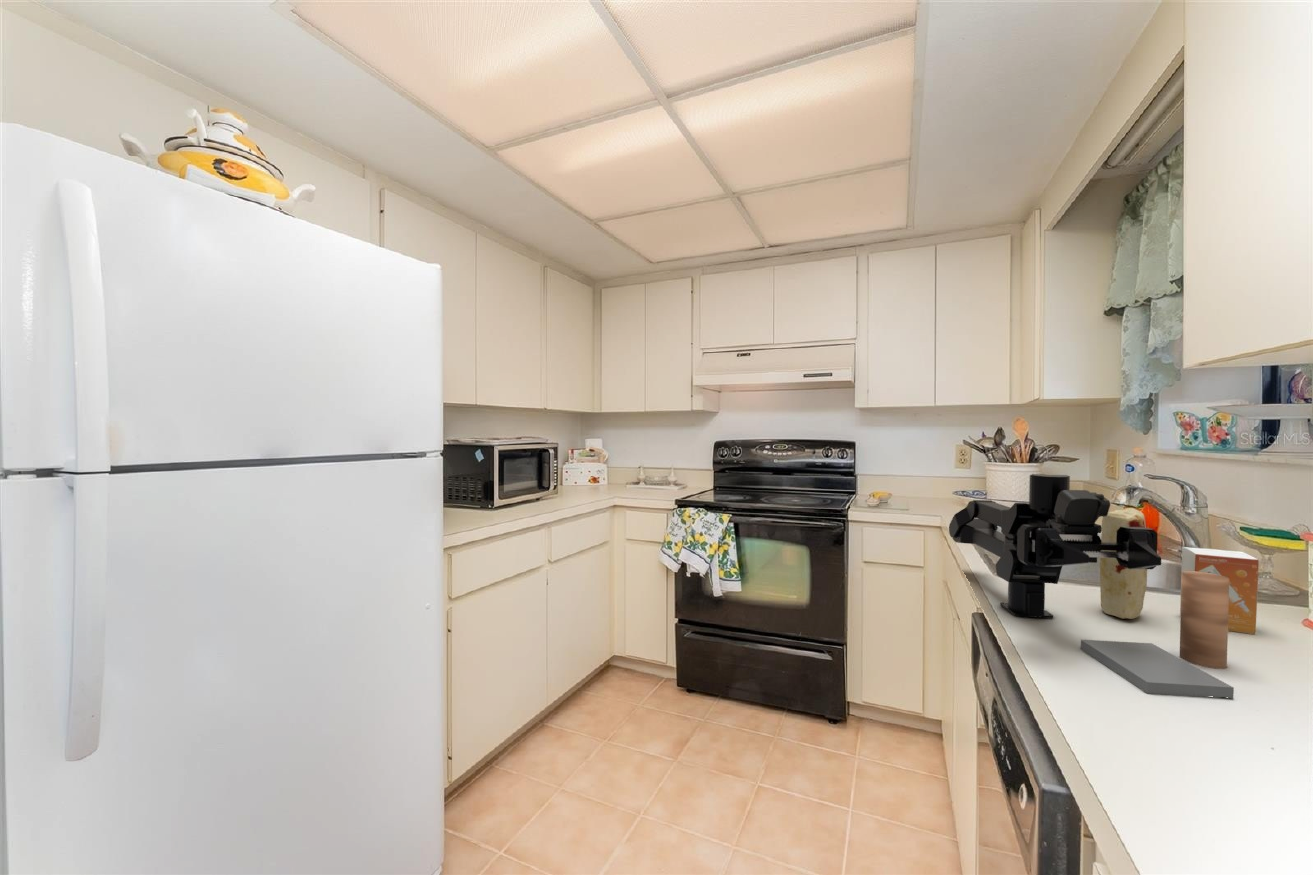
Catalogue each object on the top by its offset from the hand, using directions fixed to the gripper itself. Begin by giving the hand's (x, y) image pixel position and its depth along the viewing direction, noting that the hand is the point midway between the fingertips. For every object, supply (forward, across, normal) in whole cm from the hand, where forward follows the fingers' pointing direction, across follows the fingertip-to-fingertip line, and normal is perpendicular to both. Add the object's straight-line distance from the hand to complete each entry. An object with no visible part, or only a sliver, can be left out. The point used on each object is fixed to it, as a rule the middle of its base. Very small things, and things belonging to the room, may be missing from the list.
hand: (1123, 560), depth 76 cm
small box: (-23, +30, +17) cm, 41 cm away
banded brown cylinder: (-7, +15, +17) cm, 24 cm away
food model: (-26, +17, +17) cm, 35 cm away
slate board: (-2, +5, +17) cm, 17 cm away
